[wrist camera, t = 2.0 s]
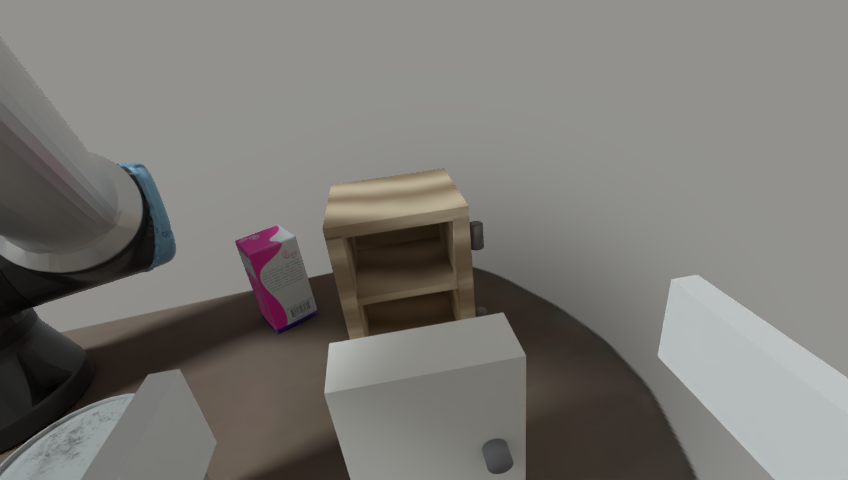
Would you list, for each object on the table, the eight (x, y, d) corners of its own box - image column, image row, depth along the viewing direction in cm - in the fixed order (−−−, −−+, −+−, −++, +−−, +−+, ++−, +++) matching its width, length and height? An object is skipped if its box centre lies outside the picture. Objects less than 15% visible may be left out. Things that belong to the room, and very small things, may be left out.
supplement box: (300, 296, 58) (279, 223, 53) (319, 314, 54) (297, 236, 49) (260, 314, 55) (233, 239, 50) (276, 335, 51) (248, 254, 46)
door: (370, 492, 32) (329, 343, 25) (507, 464, 33) (503, 312, 26) (372, 569, 27) (322, 412, 21) (531, 533, 28) (534, 371, 21)
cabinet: (358, 307, 54) (331, 185, 46) (465, 288, 55) (455, 166, 47) (357, 448, 35) (311, 283, 28) (519, 416, 36) (518, 249, 29)
